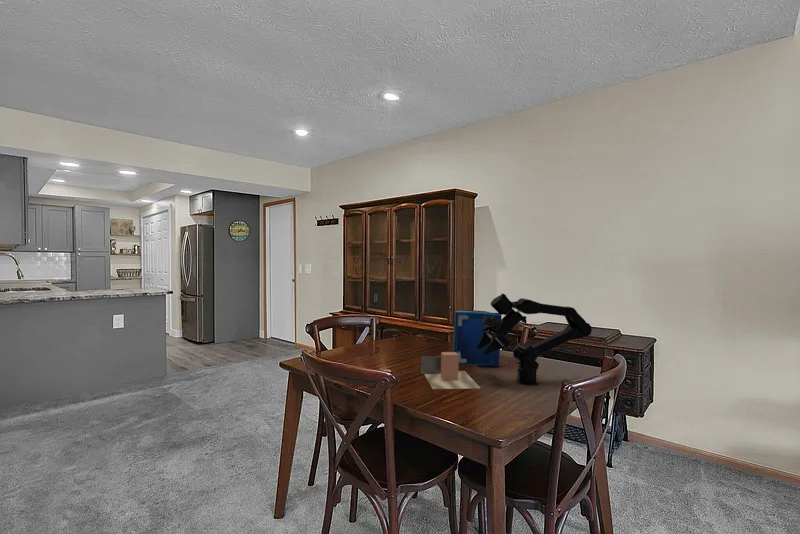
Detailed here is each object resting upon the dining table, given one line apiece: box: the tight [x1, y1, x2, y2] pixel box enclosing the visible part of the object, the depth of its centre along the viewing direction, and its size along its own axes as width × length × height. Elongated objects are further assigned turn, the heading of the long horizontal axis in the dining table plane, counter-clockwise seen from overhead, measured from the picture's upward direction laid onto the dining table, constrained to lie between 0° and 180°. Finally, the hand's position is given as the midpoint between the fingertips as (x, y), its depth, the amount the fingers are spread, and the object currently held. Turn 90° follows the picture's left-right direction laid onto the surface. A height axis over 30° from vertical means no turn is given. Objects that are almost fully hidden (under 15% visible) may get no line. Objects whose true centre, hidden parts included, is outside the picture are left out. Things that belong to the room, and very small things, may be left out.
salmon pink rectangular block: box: [440, 351, 460, 380], centre depth 169 cm, size 6×5×10 cm
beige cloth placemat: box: [424, 370, 481, 390], centre depth 168 cm, size 18×24×1 cm
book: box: [452, 309, 502, 368], centre depth 194 cm, size 22×7×25 cm, turn 84°
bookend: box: [420, 355, 441, 375], centre depth 177 cm, size 12×3×7 cm, turn 96°
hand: (480, 351), depth 167 cm, fingers open, 9 cm apart
